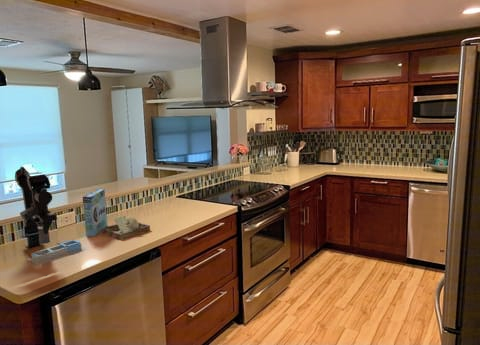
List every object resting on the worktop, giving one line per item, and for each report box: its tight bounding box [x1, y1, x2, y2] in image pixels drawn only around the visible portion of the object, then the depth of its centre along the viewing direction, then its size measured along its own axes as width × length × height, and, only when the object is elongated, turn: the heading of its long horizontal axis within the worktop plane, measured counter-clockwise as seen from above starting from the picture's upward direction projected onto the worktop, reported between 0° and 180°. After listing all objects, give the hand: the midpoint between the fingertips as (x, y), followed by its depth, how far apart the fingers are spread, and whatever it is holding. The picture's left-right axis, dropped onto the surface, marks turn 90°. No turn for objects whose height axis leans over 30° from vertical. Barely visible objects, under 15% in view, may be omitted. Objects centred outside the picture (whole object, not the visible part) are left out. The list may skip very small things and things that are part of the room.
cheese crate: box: [101, 221, 151, 241], centre depth 209 cm, size 19×19×3 cm
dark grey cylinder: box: [38, 223, 51, 245], centre depth 170 cm, size 4×4×9 cm
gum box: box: [82, 188, 108, 238], centre depth 210 cm, size 20×5×23 cm, turn 178°
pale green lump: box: [114, 215, 140, 234], centre depth 207 cm, size 15×7×15 cm
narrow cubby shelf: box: [27, 239, 88, 266], centre depth 175 cm, size 12×23×5 cm, turn 140°
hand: (44, 233), depth 170 cm, fingers closed on dark grey cylinder, 4 cm apart
